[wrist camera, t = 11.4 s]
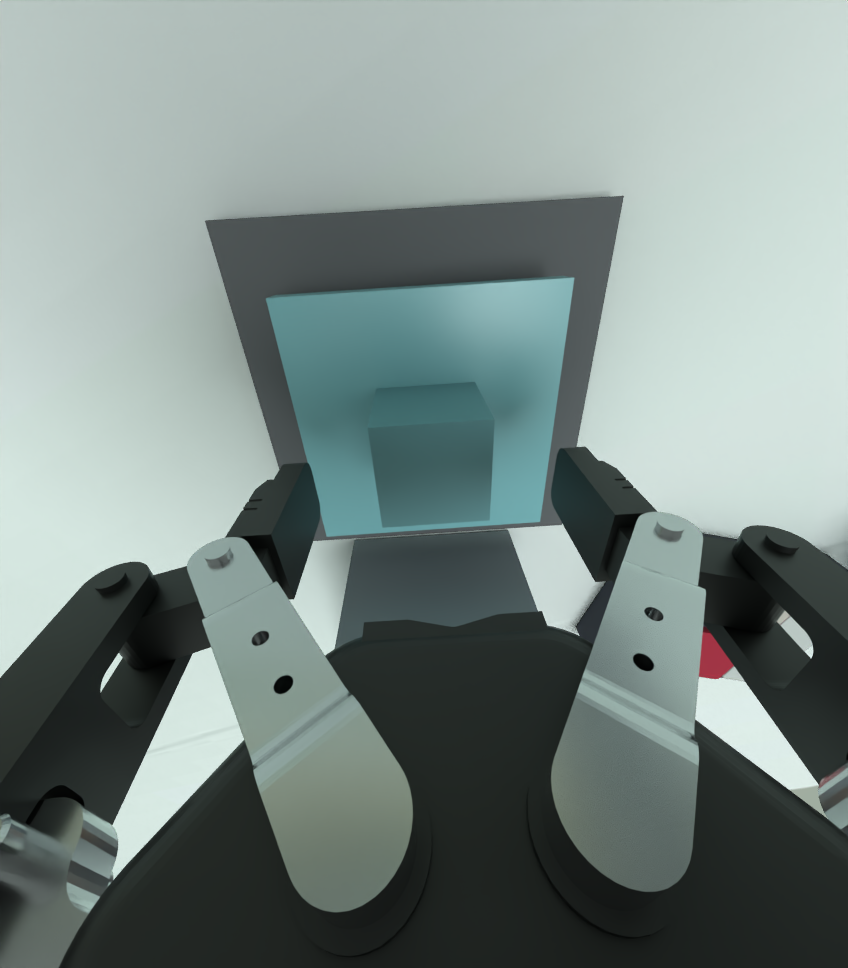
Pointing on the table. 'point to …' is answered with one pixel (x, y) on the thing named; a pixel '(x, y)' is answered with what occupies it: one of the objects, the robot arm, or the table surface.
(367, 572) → the box
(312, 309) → the lid
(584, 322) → the mat
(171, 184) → the table surface
